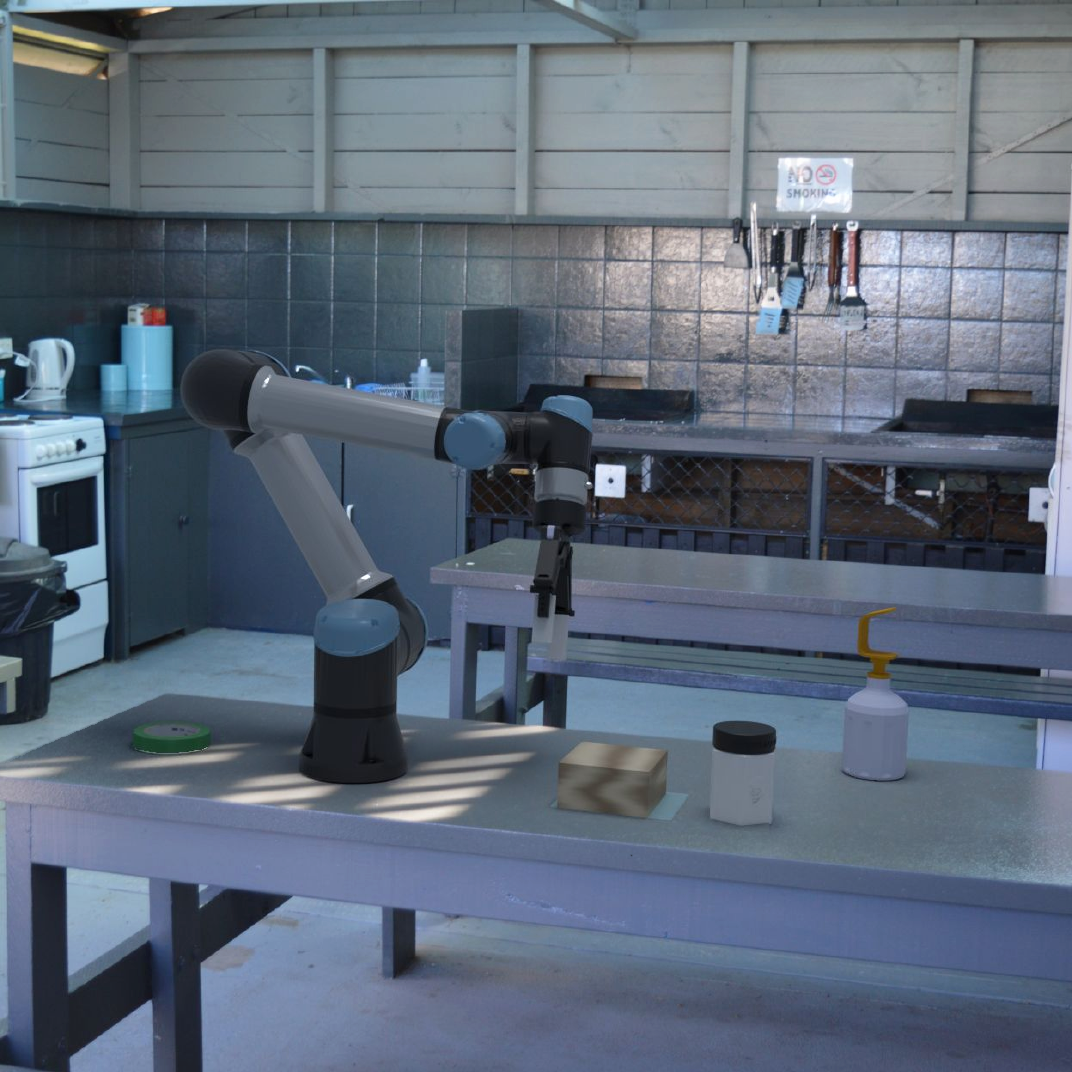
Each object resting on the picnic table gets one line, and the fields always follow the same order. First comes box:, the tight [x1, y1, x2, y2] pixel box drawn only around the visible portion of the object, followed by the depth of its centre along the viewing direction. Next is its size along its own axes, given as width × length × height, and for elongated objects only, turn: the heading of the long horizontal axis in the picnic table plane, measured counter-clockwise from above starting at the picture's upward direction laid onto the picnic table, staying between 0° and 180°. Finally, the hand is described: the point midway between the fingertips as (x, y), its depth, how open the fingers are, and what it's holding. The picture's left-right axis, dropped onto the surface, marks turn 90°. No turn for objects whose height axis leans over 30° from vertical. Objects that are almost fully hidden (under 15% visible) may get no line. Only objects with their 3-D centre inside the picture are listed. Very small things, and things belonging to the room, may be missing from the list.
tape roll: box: [132, 721, 211, 753], centre depth 219 cm, size 11×11×3 cm
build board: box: [549, 791, 690, 822], centre depth 197 cm, size 16×13×1 cm
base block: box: [556, 741, 669, 819], centre depth 196 cm, size 12×12×6 cm
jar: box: [709, 720, 778, 826], centre depth 191 cm, size 9×8×12 cm
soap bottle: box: [841, 606, 910, 782], centre depth 215 cm, size 9×9×25 cm
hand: (549, 651), depth 205 cm, fingers open, 13 cm apart
